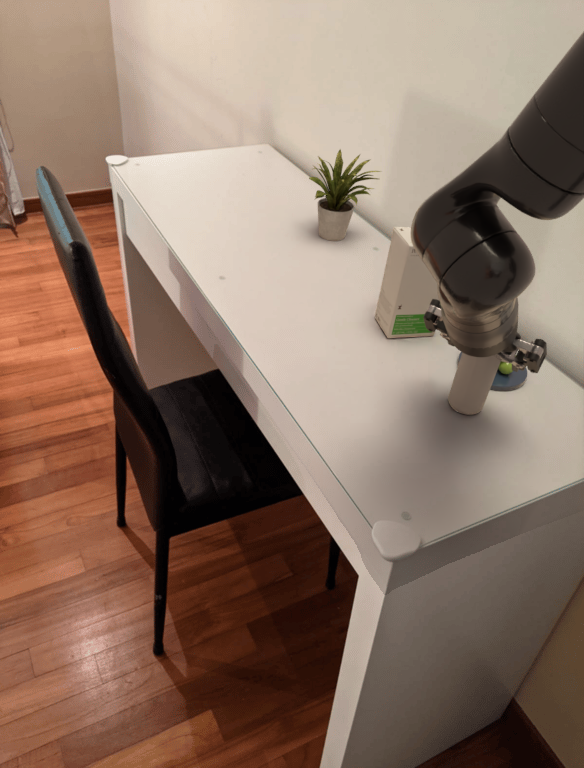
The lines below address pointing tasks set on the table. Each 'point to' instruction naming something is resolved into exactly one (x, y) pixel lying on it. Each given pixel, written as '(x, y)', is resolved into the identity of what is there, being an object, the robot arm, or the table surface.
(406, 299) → the cosmetic box
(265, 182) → the table surface
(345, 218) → the house plant
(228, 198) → the table surface
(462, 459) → the table surface
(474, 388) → the beverage can
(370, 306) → the table surface
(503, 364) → the grapes
